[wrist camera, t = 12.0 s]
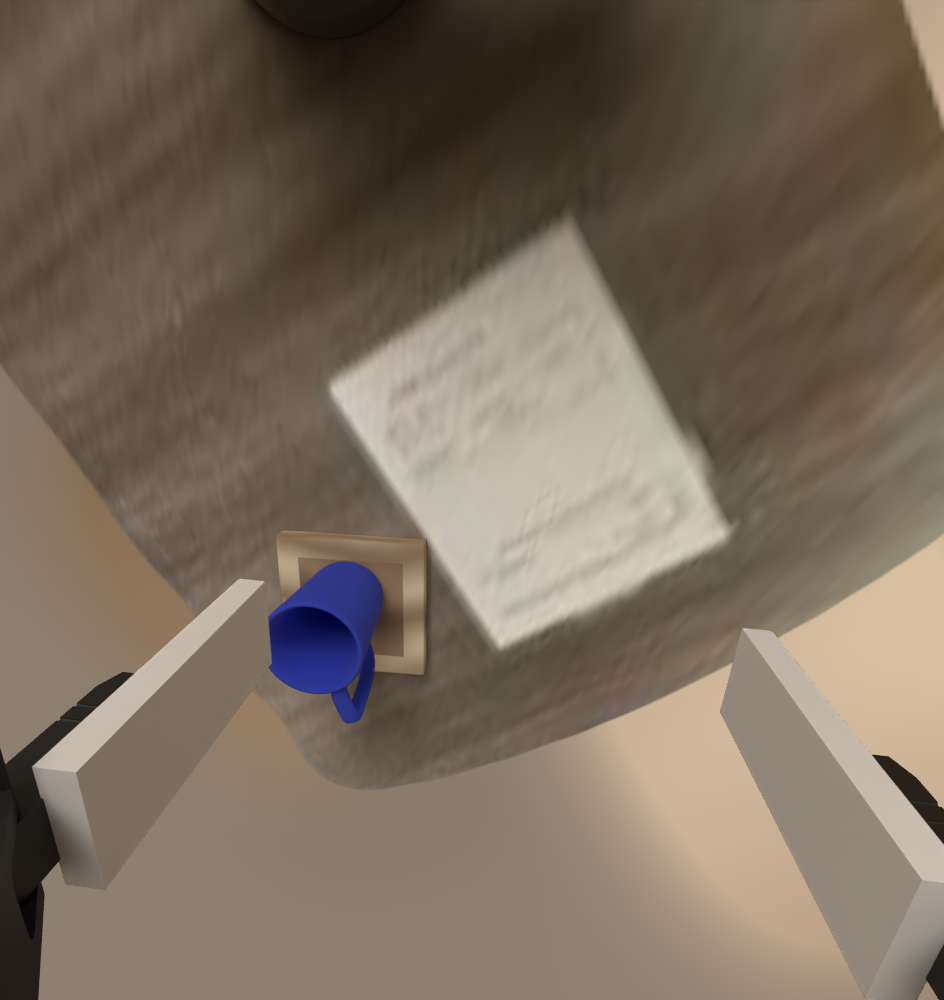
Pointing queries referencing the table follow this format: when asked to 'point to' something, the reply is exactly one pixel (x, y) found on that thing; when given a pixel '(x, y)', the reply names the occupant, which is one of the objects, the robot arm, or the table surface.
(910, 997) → the robot arm
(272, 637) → the mug
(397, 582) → the trivet
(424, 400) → the table surface
